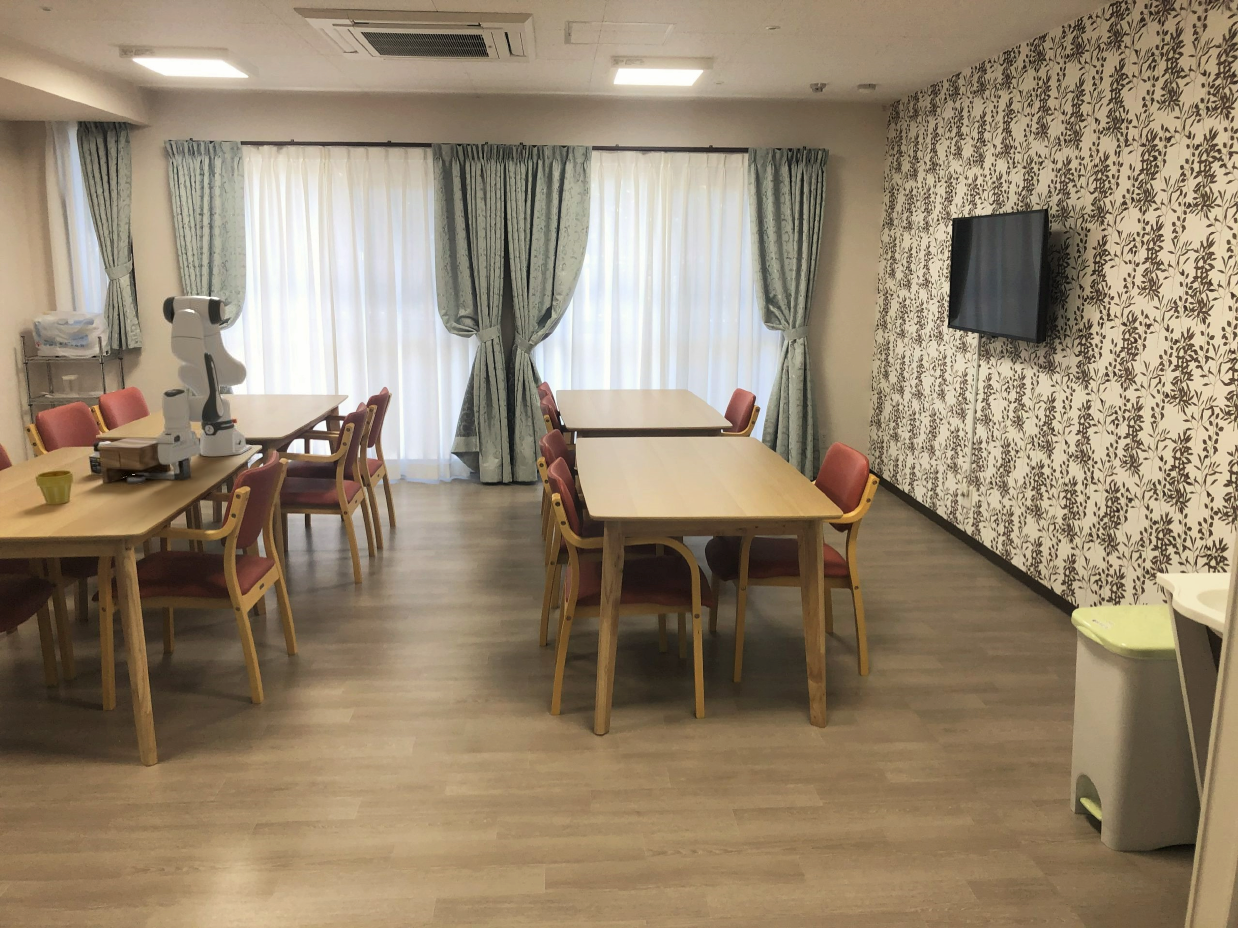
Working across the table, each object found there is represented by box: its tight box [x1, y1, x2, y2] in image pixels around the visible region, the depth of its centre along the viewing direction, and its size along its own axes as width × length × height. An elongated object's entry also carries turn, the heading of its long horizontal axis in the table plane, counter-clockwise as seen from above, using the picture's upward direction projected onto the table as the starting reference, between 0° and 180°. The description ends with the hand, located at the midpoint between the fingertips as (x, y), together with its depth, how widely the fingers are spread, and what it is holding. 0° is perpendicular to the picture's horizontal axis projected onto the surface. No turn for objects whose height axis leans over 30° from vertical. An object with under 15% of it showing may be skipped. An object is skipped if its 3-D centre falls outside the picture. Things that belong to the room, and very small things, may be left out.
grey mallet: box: [135, 459, 192, 481], centre depth 335 cm, size 4×20×7 cm, turn 82°
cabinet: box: [97, 437, 172, 484], centre depth 333 cm, size 17×16×14 cm
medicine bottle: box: [88, 440, 111, 476], centre depth 342 cm, size 7×7×12 cm
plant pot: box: [35, 469, 74, 506], centre depth 300 cm, size 10×10×10 cm
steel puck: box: [125, 474, 147, 485], centre depth 329 cm, size 6×6×2 cm
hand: (182, 471), depth 335 cm, fingers closed on grey mallet, 4 cm apart
